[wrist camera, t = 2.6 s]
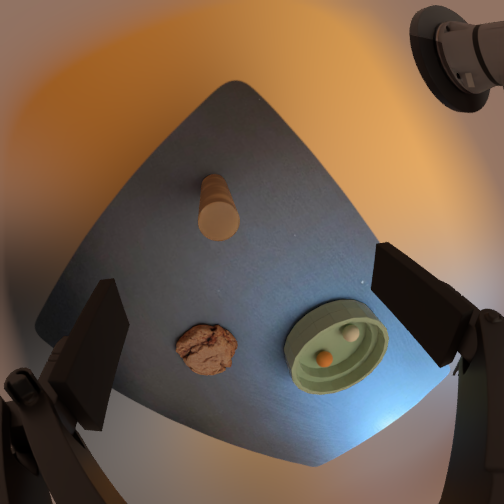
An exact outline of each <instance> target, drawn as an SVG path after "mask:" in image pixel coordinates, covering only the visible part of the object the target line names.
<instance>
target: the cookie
mask: <svg viewBox="0 0 504 504" xmlns="http://www.w3.org/2000/svg"><path fill="white" fill-rule="evenodd" d="M176 346H177V348H176V352H177V353H179V354H180V356H181V357H183V360H184V362H185V363H186V365H187V366H189V368H190V369H191V370H192V371H193V372H195V373H198V374H201V375H215V374H218V373H221V372H223V371H225V370H226V369H225V368H226V367H231V364H232V360H231V358H232V357H233V355H234V354H235V350H236V349H237V341H236V340H235V338H234V337H233V335H232V334H231V333H230V332H229V331H228V330H226V329H225V328H224V329H223V328H222V327H220V325H216V326H211V325H210V326H209V325H197V326H195V327H192V329H189V331H187V332H186V333H185V334H184V335H183V336H182V337H180V339H179V341H178V342H177V344H176Z"/></svg>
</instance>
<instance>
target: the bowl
mask: <svg viewBox="0 0 504 504" xmlns="http://www.w3.org/2000/svg"><path fill="white" fill-rule="evenodd" d="M348 325H355V326H356V327H357V328H358V329H359V337H358V338H357V340H355V341H353V342H348V341H346V340H345V339H344V338H343V335H342V333H343V330H344V328H345V327H346V326H348ZM388 340H389V337H388V333H387V329H386V327H385V326H384V325H383V324H382V322H381V321H380V320H379V319H378V318H377V316H376V315H375V314H374V313H373V312H372V311H371V309H370V308H369V307H368V306H367V305H366V304H364V303H361V302H358V301H356V300H337V301H334V302H330V303H327V304H324V305H321V306H320V307H318V308H316V309H314V310H312V311H311V312H309V313H307V314H306V315H305V316H304V317H303V318H302V319H301V320H300V321H299V322H297V323H296V324H295V326H294V327H293V329H292V330H291V332H290V333H289V335H288V336H287V339H286V343H285V347H284V354H285V360H286V363H287V366H288V369H289V372H290V375H291V377H292V380H293V382H294V383H295V384H296V386H297V387H298V388H299V389H301V390H303V391H305V392H307V393H310V394H319V395H322V394H330V393H336V392H339V391H342V390H344V389H347V388H349V387H351V386H353V385H355V384H356V383H358V382H360V381H362V380H363V379H364V378H365V377H366V376H368V375H369V374H370V373H371V372H372V371H373V370H374V369H375V368H376V367H377V365H378V364H379V363H380V362H381V360H382V358H383V356H384V354H385V352H386V350H387V346H388ZM323 351H327V352H329V353H331V355H332V357H333V361H332V363H331V365H330V366H328V367H320V366H319V365H318V364H317V362H316V358H317V355H318V354H319V353H320V352H323Z"/></svg>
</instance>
